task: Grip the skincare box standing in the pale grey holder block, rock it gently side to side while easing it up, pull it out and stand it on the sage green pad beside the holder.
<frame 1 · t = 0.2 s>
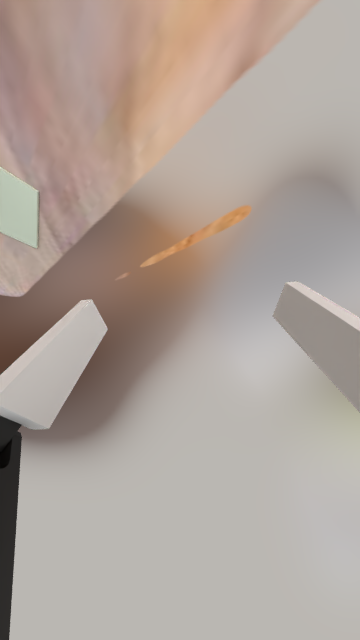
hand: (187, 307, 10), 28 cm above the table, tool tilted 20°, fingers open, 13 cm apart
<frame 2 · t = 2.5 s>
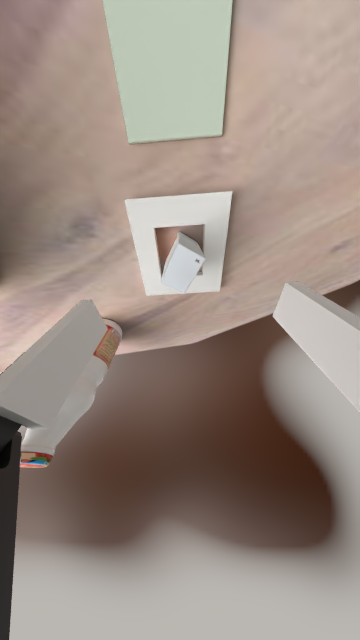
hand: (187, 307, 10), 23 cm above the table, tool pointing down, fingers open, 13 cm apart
white frame: (180, 251, 29), on the table
skincare box: (180, 251, 29), resting in white frame
pad: (170, 49, 16), on the table
fruit juice: (107, 329, 42), on the table
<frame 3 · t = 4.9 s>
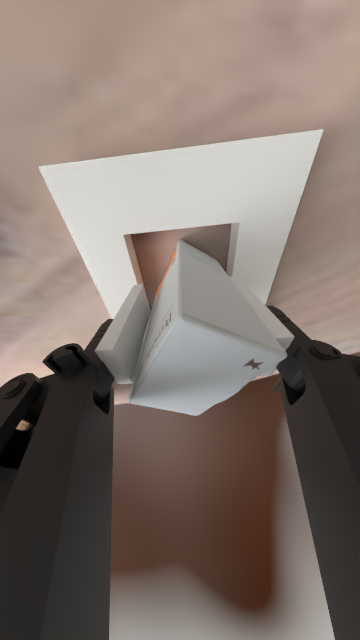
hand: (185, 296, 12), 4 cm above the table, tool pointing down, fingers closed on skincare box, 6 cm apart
white frame: (183, 276, 15), on the table
skincare box: (183, 275, 15), resting in white frame, touching gripper
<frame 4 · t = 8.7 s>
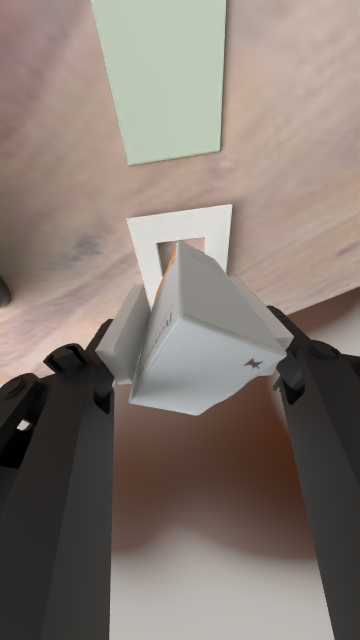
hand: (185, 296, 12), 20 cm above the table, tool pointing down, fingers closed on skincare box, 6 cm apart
white frame: (182, 262, 29), on the table
skincare box: (183, 275, 15), point 15 cm above the table, touching gripper
pad: (165, 75, 16), on the table
when the fingers open (6 cm above the table, at t = 12.7 s): skincare box drops 1 cm, resting on pad.
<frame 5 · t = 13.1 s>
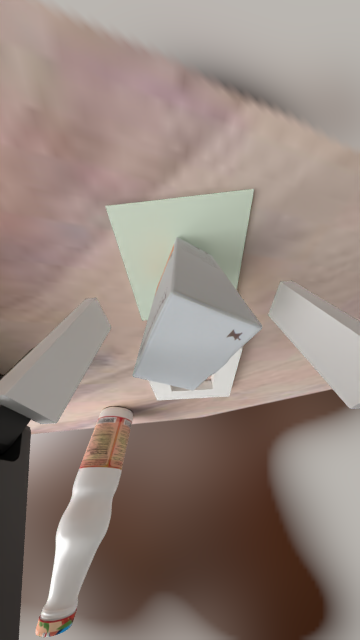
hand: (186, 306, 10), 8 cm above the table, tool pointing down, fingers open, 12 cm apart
white frame: (190, 370, 29), on the table
skincare box: (181, 271, 16), resting on pad
pad: (183, 270, 17), on the table
fruit juice: (118, 411, 43), on the table
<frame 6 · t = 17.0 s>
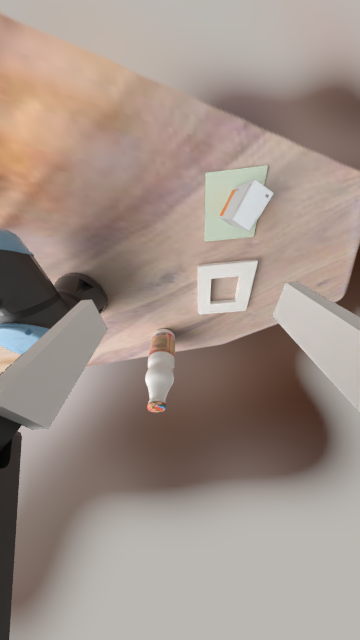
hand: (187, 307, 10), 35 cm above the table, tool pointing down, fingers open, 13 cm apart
white frame: (223, 288, 47), on the table
skincare box: (231, 208, 34), resting on pad
pad: (231, 208, 34), on the table
fruit juice: (164, 335, 60), on the table
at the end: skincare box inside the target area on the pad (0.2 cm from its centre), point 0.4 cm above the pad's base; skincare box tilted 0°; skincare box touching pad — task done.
